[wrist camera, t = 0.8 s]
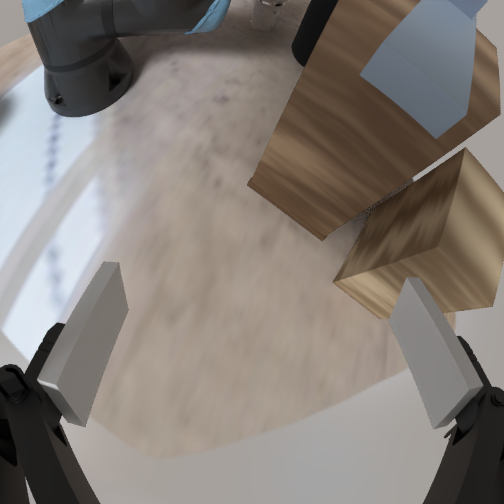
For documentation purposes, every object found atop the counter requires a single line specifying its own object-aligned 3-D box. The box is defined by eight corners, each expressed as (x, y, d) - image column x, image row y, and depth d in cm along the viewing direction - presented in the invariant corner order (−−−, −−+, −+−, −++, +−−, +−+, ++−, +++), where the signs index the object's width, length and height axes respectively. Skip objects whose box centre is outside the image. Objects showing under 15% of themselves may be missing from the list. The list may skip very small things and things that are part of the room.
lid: (435, 139, 10) (507, 81, 6) (359, 75, 10) (414, -3, 6) (465, 23, 16) (489, -5, 12) (429, -6, 16) (452, -36, 12)
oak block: (379, 318, 41) (492, 306, 22) (332, 282, 40) (437, 246, 21) (413, 245, 45) (511, 203, 26) (373, 209, 44) (465, 147, 25)
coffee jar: (340, 51, 52) (377, -11, 35) (343, 84, 50) (389, 16, 33) (290, 36, 51) (319, -33, 34) (288, 67, 48) (323, -10, 31)
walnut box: (321, 241, 41) (502, 118, 13) (247, 185, 41) (341, -14, 12) (363, 171, 46) (497, 48, 17) (299, 122, 45) (394, -34, 17)
